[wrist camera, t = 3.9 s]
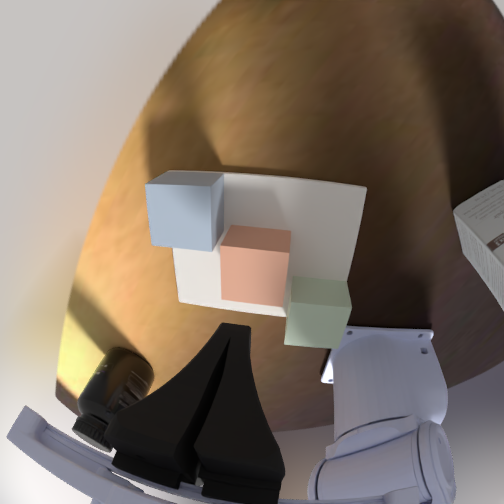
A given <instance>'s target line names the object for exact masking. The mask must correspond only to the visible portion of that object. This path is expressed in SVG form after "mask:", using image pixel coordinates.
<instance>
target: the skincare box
mask: <svg viewBox="0 0 504 504" xmlns="http://www.w3.org/2000/svg"><path fill="white" fill-rule="evenodd" d="M453 214H454V217H455V222H456V226H457V229H458V233H459V238H460V242H461V246H462V251H463V254H464V255H465V256H466V258H467V259H468V260H469V261H470V263H471V264H472V265H473V267H474V268H475V269H476V271H477V272H478V273H479V275H480V276H481V277H482V279H483V280H484V282H485V283H486V285H487V286H488V288H489V289H490V291H491V292H492V293H493V295H494V296H495V298H496V299H497V301H498V303H499V304H500V306H501V307H502V309H503V310H504V180H501V181H499V182H497V183H495V184H494V185H492V186H490V187H488V188H486V189H485V190H483V191H481V192H479V193H478V194H476V195H474V196H473V197H471V198H470V199H468V200H466V201H465V202H463V203H461V204H460V205H458V206H457V207H456V208H455V209H454V210H453Z"/></svg>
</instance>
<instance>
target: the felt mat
mask: <svg viewBox="0 0 504 504" xmlns="http://www.w3.org/2000/svg"><path fill="white" fill-rule="evenodd" d="M167 172H202V173H224V232H223V233H222V235H221V237H220V239H219V241H218V242H217V244H216V246H215V248H214V249H213V251H212V252H207V251H198V250H189V249H180V248H173V257H174V266H175V274H176V281H177V289H178V296H179V302H183V303H189V304H195V305H201V306H208V307H214V308H221V309H228V310H235V311H242V312H250V313H257V314H265V315H274V316H282V317H287V312H288V305H289V298H290V292H291V285H292V278H293V276H299V277H308V278H318V279H327V280H337V281H347V278H348V274H349V270H350V266H351V262H352V258H353V254H354V250H355V246H356V241H357V237H358V232H359V227H360V222H361V218H362V212H363V207H364V202H365V197H366V191H367V188H366V187H364V186H357V185H351V184H344V183H336V182H329V181H321V180H312V179H304V178H294V177H284V176H274V175H262V174H248V173H233V172H214V171H185V170H168V171H167ZM231 225H239V226H250V227H260V228H269V229H279V230H288V231H291V240H290V253H289V262H288V270H287V278H286V285H285V293H284V300H283V307H276V306H267V305H259V304H251V303H243V302H236V301H229V300H221V267H220V245H221V243H222V241H223V239H224V237H225V235H226V233H227V232H228V230H229V228H230V226H231Z"/></svg>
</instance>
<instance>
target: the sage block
mask: <svg viewBox="0 0 504 504" xmlns="http://www.w3.org/2000/svg"><path fill="white" fill-rule="evenodd" d="M351 310H352V305H351V300H350V295H349V290H348V285H347V281H337V280H327V279H318V278H308V277H299V276H293V278H292V285H291V292H290V298H289V305H288V312H287V319H286V330H285V341H284V344H286V345H296V346H306V347H318V348H331V349H338V347H339V345H340V342H341V339H342V336H343V334H344V331H345V328H346V325H347V322H348V319H349V316H350V313H351Z"/></svg>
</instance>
